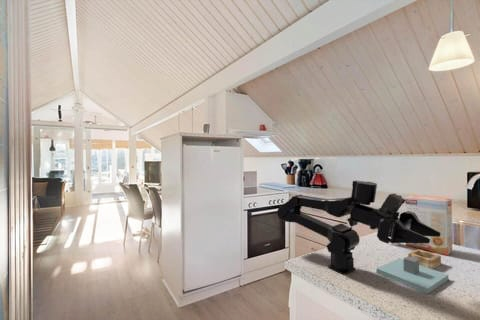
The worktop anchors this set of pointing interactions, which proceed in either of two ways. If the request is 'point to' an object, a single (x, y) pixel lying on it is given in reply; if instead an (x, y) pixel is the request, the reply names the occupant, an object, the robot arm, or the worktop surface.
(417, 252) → the square frame
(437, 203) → the cracker box
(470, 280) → the worktop surface
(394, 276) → the post board
